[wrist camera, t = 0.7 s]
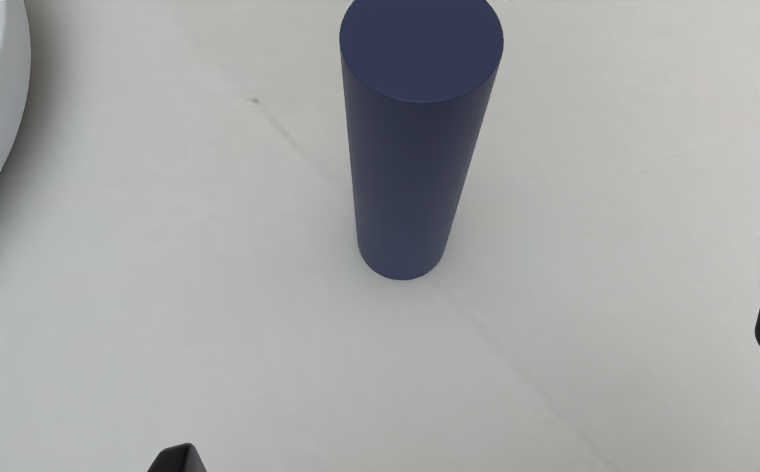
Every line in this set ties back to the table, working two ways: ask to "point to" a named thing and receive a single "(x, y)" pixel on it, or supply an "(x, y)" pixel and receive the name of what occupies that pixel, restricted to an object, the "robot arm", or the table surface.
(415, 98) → the navy round peg
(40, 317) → the table surface
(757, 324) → the robot arm
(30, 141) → the table surface
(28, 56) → the bowl
